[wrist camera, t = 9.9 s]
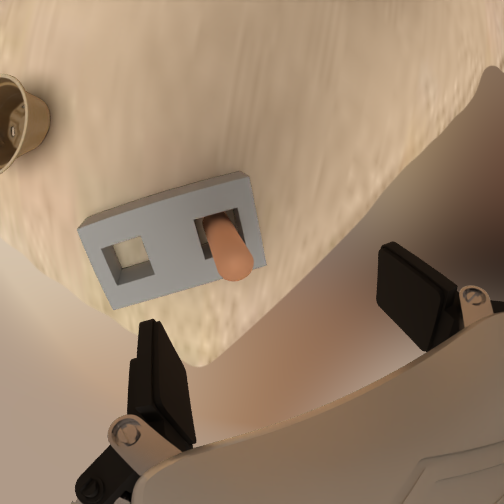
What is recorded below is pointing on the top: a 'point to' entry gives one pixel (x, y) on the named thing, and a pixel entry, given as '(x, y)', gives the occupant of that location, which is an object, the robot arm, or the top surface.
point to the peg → (227, 247)
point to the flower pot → (19, 121)
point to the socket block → (168, 238)
